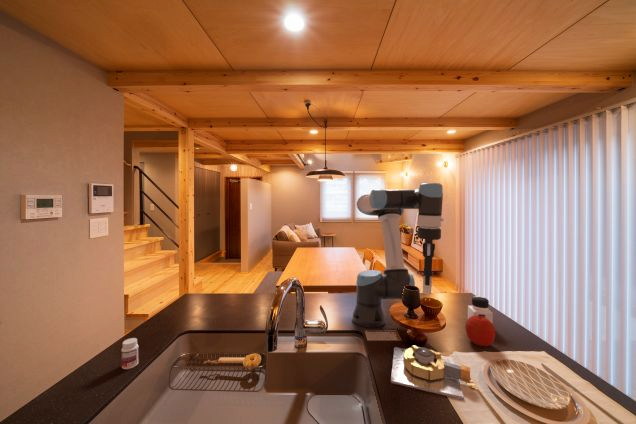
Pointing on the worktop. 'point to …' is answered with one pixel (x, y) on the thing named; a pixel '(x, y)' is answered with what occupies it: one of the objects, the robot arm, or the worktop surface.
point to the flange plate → (439, 386)
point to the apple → (480, 330)
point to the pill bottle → (130, 353)
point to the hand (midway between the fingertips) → (426, 293)
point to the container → (480, 308)
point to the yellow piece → (434, 367)
